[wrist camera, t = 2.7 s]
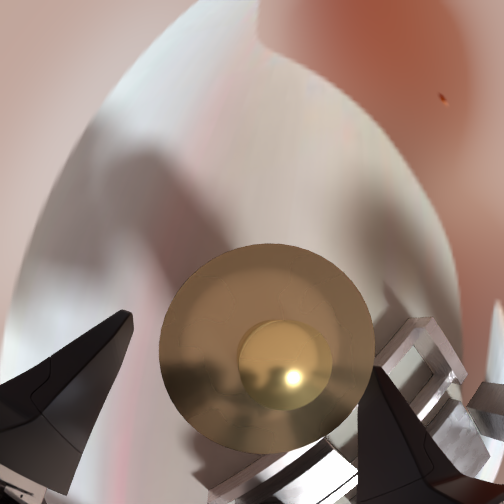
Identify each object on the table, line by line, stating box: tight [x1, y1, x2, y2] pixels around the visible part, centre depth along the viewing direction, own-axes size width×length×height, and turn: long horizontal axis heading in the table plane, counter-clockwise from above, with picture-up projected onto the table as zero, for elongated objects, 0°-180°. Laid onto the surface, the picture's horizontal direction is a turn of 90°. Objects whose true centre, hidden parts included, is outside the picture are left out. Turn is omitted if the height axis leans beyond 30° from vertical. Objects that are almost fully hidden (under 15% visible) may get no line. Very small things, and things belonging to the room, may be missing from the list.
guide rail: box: [207, 317, 468, 504], centre depth 15 cm, size 20×6×3 cm, turn 130°
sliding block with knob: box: [235, 437, 358, 504], centre depth 12 cm, size 8×3×6 cm, turn 130°
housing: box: [159, 244, 375, 454], centre depth 11 cm, size 5×5×14 cm
